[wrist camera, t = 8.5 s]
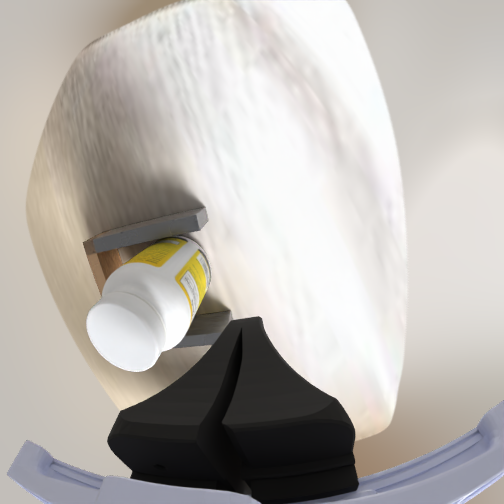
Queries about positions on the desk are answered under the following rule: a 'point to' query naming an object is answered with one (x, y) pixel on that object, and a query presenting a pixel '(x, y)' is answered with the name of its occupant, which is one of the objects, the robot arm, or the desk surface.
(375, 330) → the desk surface
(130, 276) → the supplement bottle
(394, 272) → the desk surface
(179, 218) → the bracket
